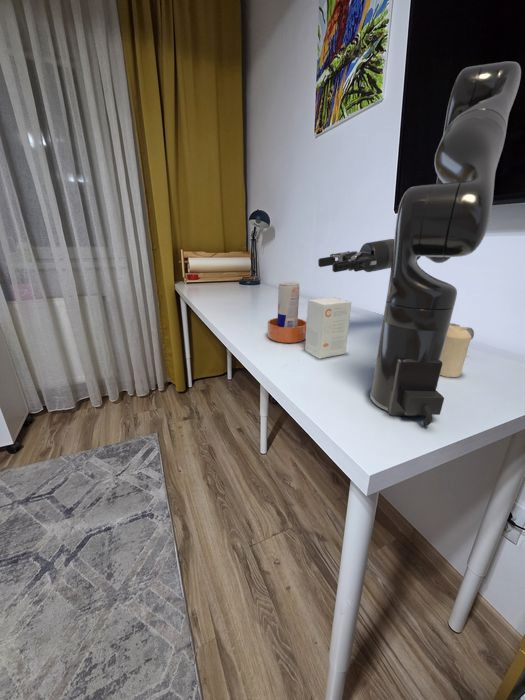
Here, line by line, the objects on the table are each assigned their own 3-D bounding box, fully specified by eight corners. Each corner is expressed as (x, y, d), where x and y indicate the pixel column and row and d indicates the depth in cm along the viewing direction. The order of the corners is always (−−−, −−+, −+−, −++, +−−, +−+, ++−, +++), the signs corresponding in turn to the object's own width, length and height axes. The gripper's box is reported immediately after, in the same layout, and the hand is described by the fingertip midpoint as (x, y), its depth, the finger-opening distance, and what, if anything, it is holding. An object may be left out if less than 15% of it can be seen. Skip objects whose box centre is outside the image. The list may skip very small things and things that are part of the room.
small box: (330, 346, 76) (334, 296, 72) (346, 354, 71) (352, 301, 66) (304, 350, 73) (307, 299, 68) (318, 359, 68) (323, 304, 63)
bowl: (308, 344, 77) (309, 328, 76) (267, 343, 78) (267, 327, 76) (304, 332, 87) (305, 317, 86) (268, 331, 88) (268, 317, 86)
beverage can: (296, 333, 85) (299, 281, 79) (296, 339, 80) (300, 284, 74) (277, 332, 85) (279, 280, 80) (276, 338, 80) (278, 283, 75)
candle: (445, 378, 59) (458, 331, 55) (424, 368, 64) (434, 324, 60) (466, 376, 60) (480, 329, 56) (444, 365, 65) (455, 322, 61)
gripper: (367, 238, 82) (313, 247, 79) (400, 242, 69) (338, 253, 67) (366, 265, 85) (315, 275, 82) (398, 273, 73) (338, 285, 70)
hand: (325, 265), depth 75 cm, fingers open, 8 cm apart
